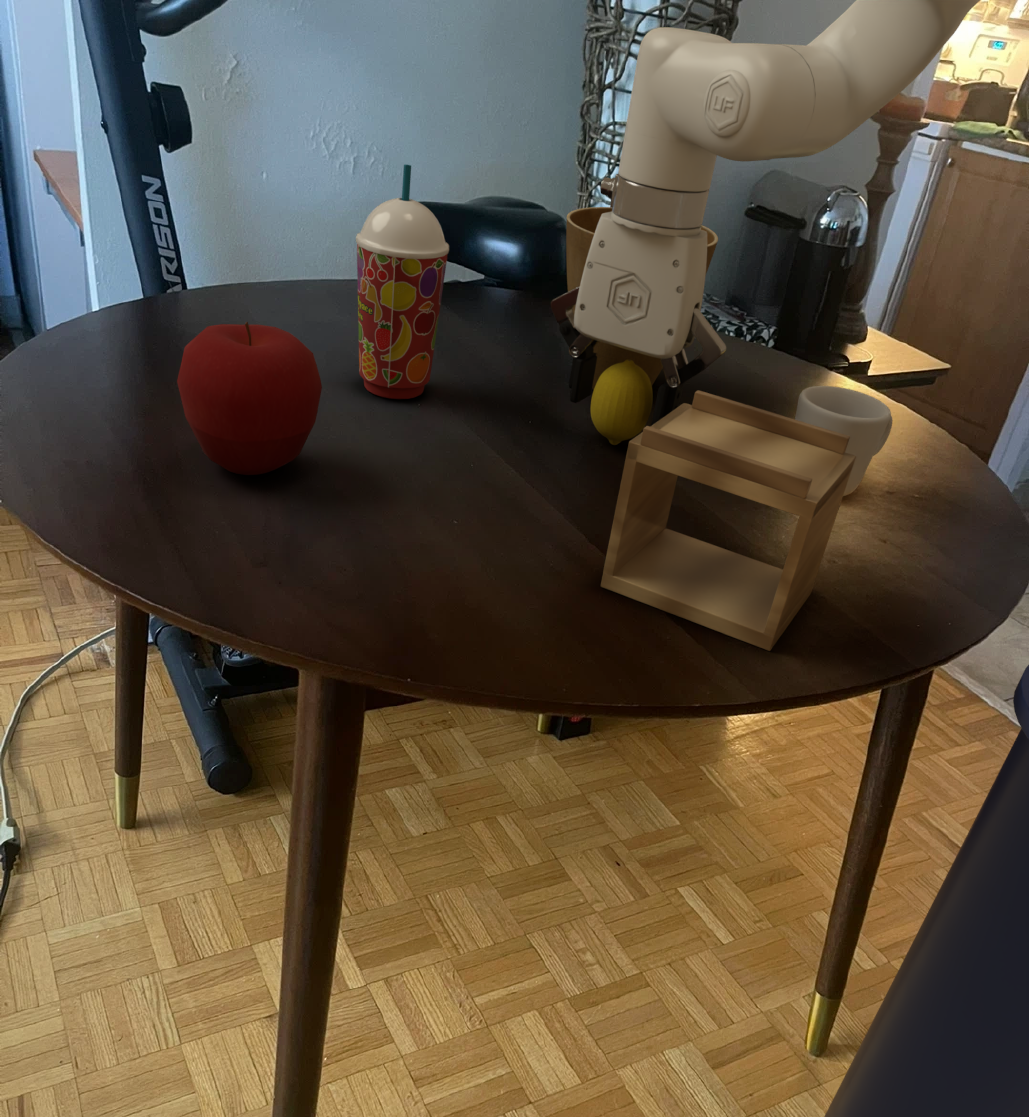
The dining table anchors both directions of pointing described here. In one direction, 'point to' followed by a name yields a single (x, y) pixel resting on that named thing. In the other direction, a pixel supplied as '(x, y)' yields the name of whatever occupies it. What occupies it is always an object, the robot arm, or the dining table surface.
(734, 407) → the shelf
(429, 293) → the smoothie
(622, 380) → the lemon
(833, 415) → the cup
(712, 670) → the dining table surface
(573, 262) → the plant pot
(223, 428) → the apple
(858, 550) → the dining table surface
